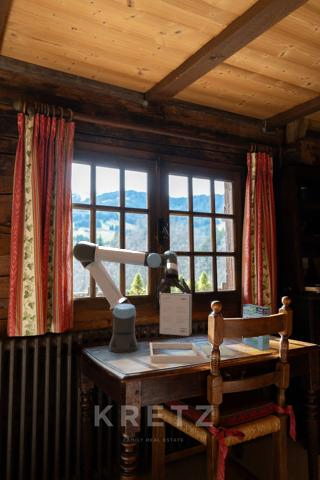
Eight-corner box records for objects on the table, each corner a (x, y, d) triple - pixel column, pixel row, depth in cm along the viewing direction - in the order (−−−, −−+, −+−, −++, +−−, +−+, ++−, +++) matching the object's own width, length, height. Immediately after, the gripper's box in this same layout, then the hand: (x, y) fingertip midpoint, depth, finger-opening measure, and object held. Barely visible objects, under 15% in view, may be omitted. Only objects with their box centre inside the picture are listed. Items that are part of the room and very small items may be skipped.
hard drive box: (191, 333, 184) (192, 293, 185) (189, 336, 177) (190, 295, 178) (162, 330, 188) (163, 292, 189) (158, 333, 181) (159, 293, 182)
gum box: (242, 343, 212) (242, 304, 214) (249, 342, 214) (249, 303, 216) (262, 351, 194) (262, 308, 196) (270, 350, 196) (270, 307, 197)
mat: (206, 357, 180) (206, 355, 180) (200, 347, 200) (200, 345, 200) (234, 357, 180) (234, 355, 180) (225, 347, 200) (225, 346, 200)
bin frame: (151, 362, 168) (151, 356, 168) (149, 348, 196) (149, 342, 196) (202, 362, 169) (202, 356, 170) (193, 348, 197) (193, 343, 198)
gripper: (192, 278, 206) (195, 308, 190) (149, 277, 204) (149, 307, 188) (194, 269, 201) (197, 299, 185) (149, 267, 199) (149, 298, 183)
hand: (173, 303), depth 186 cm, fingers closed on hard drive box, 12 cm apart
